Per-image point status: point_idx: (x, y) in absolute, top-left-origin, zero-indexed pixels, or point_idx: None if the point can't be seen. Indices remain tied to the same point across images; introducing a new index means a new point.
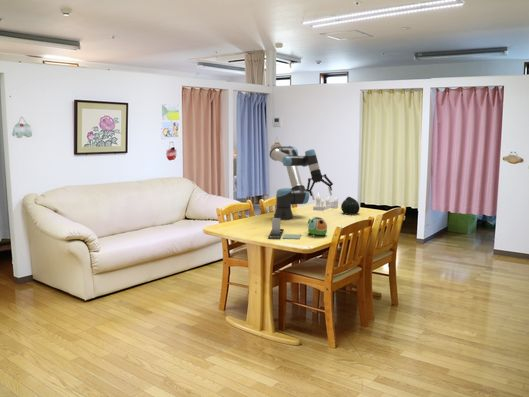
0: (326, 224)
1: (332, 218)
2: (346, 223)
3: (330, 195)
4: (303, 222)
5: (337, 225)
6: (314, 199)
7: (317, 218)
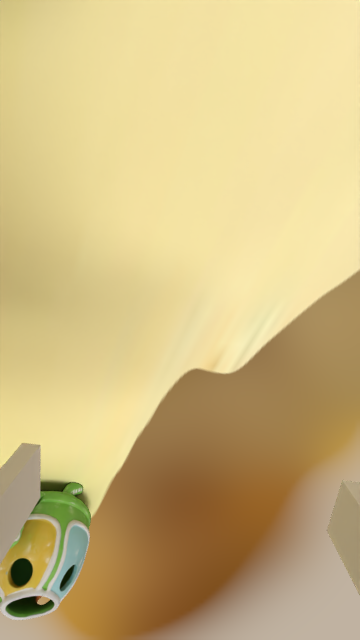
0: (81, 567)
1: (339, 71)
2: (307, 301)
3: (340, 491)
4: (4, 204)
5: (227, 345)
6: (36, 498)
7: (33, 585)
